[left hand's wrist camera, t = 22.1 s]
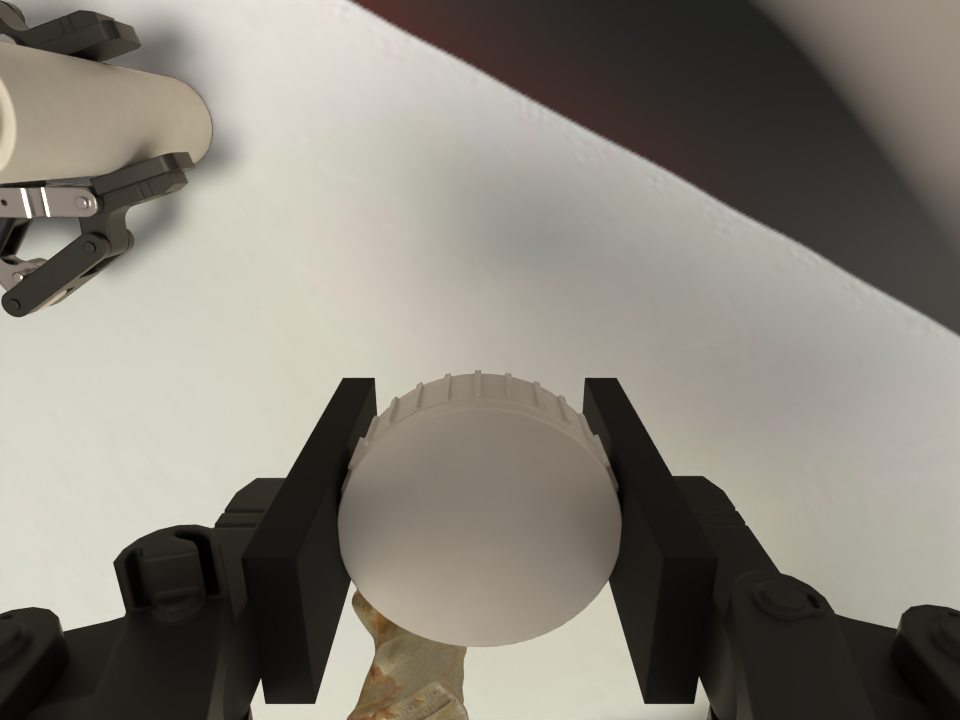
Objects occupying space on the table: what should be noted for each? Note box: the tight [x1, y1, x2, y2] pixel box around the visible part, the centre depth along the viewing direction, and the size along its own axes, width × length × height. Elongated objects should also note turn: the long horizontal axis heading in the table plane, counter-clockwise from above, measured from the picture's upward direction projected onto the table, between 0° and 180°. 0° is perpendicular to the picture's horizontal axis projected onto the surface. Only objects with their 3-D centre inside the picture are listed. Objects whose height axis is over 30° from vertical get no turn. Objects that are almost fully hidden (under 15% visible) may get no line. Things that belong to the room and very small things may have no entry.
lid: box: [338, 371, 622, 647], centre depth 11 cm, size 5×5×2 cm
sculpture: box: [347, 589, 469, 720], centre depth 33 cm, size 6×7×15 cm
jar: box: [0, 41, 212, 184], centre depth 24 cm, size 4×4×16 cm
